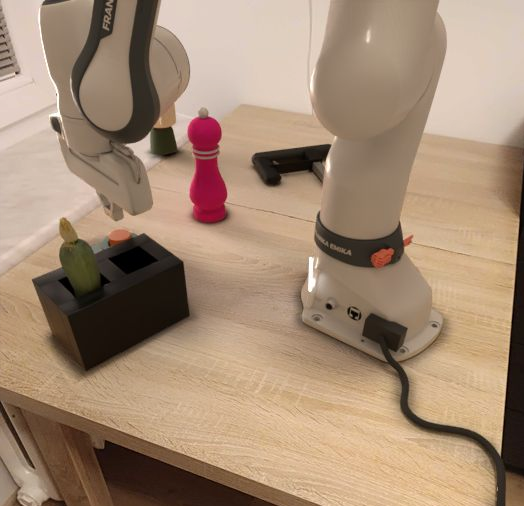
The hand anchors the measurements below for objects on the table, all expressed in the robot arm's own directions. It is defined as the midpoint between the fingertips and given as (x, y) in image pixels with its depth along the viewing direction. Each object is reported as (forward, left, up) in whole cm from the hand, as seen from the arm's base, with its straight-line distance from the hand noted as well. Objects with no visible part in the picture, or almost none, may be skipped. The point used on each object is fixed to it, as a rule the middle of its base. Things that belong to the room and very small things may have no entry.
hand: (114, 216), depth 80 cm
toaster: (-14, +9, -9) cm, 19 cm away
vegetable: (-14, +13, -9) cm, 21 cm away
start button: (0, 0, -5) cm, 5 cm away
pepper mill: (+3, -21, -9) cm, 23 cm away
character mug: (+33, -31, -9) cm, 46 cm away
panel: (0, 0, -9) cm, 9 cm away
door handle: (+4, -48, -9) cm, 49 cm away
